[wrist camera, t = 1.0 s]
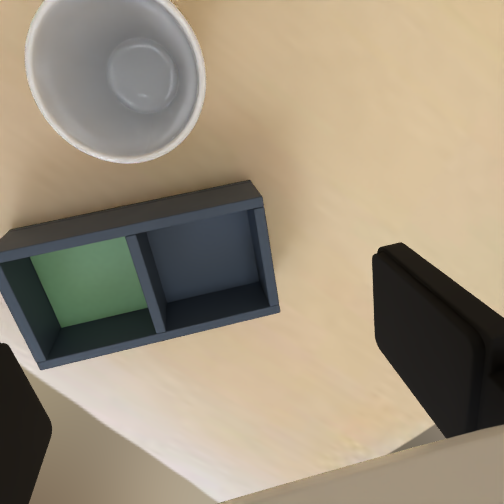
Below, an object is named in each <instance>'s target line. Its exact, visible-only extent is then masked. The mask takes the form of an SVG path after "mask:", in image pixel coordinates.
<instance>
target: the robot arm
mask: <svg viewBox="0 0 504 504" xmlns="http://www.w3.org/2000/svg"><path fill="white" fill-rule="evenodd" d="M372 270H373V298H374V326H375V339H376V342H377V345H378V347H379V349H380V350H381V352H382V353H383V354H384V356H385V357H386V358H387V360H388V361H389V362H390V364H391V365H392V366H393V368H394V369H395V370H396V372H397V373H398V374H399V376H400V377H401V378H402V380H403V381H404V382H405V384H406V385H407V386H408V388H409V389H410V390H411V392H412V393H413V395H414V396H415V397H416V399H417V400H418V401H419V403H420V404H421V405H422V407H423V408H424V409H425V411H426V412H427V413H428V415H429V416H430V417H431V419H432V420H433V421H434V423H435V424H436V425H437V427H438V428H439V429H440V431H441V432H442V433H443V435H444V436H445V437H446V439H444V440H440V441H436V442H432V443H429V444H425V445H421V446H417V447H413V448H410V449H406V450H403V451H399V452H396V453H392V454H388V455H385V456H381V457H378V458H374V459H371V460H367V461H364V462H360V463H357V464H353V465H350V466H346V467H343V468H339V469H336V470H332V471H329V472H325V473H322V474H318V475H315V476H311V477H308V478H304V479H301V480H297V481H293V482H290V483H286V484H283V485H279V486H276V487H273V488H269V489H266V490H262V491H259V492H255V493H252V494H248V495H245V496H241V497H238V498H235V499H231V500H228V501H224V502H221V503H217V504H504V318H503V317H502V316H500V315H499V314H498V313H496V312H495V311H494V310H492V309H491V308H490V307H488V306H487V305H486V304H484V303H483V302H482V301H480V300H479V299H478V298H476V297H475V296H474V295H472V294H471V293H469V292H468V291H467V290H465V289H464V288H463V287H461V286H460V285H459V284H457V283H456V282H455V281H453V280H452V279H451V278H449V277H448V276H447V275H445V274H444V273H443V272H441V271H440V270H439V269H437V268H436V267H435V266H433V265H432V264H431V263H429V262H428V261H426V260H425V259H424V258H422V257H421V256H420V255H418V254H417V253H416V252H414V251H413V250H412V249H410V248H409V247H408V246H406V245H405V244H403V243H396V244H392V245H387V246H383V247H380V248H379V249H378V252H377V254H374V255H373V257H372ZM51 434H52V425H51V421H50V419H49V417H48V415H47V414H46V412H45V410H44V408H43V406H42V404H41V403H40V401H39V399H38V397H37V395H36V394H35V392H34V390H33V388H32V387H31V385H30V383H29V381H28V379H27V377H26V376H25V374H24V372H23V370H22V368H21V366H20V365H19V363H18V361H17V359H16V357H15V356H14V354H13V352H12V350H11V348H10V347H9V346H8V345H7V344H5V343H2V344H1V343H0V504H29V501H30V498H31V495H32V492H33V489H34V486H35V483H36V480H37V477H38V474H39V471H40V468H41V465H42V462H43V459H44V456H45V453H46V450H47V447H48V444H49V441H50V438H51Z"/></svg>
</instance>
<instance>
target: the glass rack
mask: <svg viewBox="0 0 504 504" xmlns="http://www.w3.org/2000/svg"><path fill="white" fill-rule="evenodd" d="M263 206H264V203H263V197H262V196H261V194H260V193H259V192H258V190H257V189H256V188H255V186H254V185H253V184H252V182H251V181H250V180H247V181H242V182H237V183H233V184H228V185H223V186H218V187H213V188H209V189H204V190H199V191H194V192H189V193H184V194H180V195H175V196H170V197H165V198H160V199H156V200H151V201H146V202H141V203H136V204H131V205H127V206H122V207H117V208H112V209H107V210H102V211H98V212H93V213H88V214H83V215H78V216H74V217H69V218H64V219H59V220H54V221H49V222H45V223H40V224H35V225H30V226H25V227H20V228H16V229H11V230H9V231H8V233H6V234H5V235H4V236H3V237H2V238H1V239H0V292H1V294H2V296H3V298H4V300H5V302H6V304H7V306H8V308H9V310H10V312H11V314H12V316H13V318H14V320H15V322H16V324H17V326H18V328H19V330H20V331H21V333H22V335H23V337H24V339H25V341H26V343H27V345H28V347H29V349H30V351H31V353H32V355H33V357H34V359H35V361H36V363H37V365H38V367H39V369H40V370H44V369H49V368H53V367H57V366H61V365H65V364H69V363H73V362H77V361H82V360H86V359H90V358H94V357H98V356H102V355H106V354H110V353H115V352H119V351H123V350H127V349H131V348H135V347H139V346H143V345H148V344H152V343H156V342H160V341H164V340H168V339H172V338H176V337H181V336H185V335H189V334H193V333H197V332H201V331H205V330H209V329H214V328H218V327H222V326H226V325H230V324H234V323H238V322H242V321H247V320H251V319H255V318H259V317H263V316H267V315H271V314H275V313H279V312H280V307H279V300H278V294H277V287H276V281H275V274H274V268H273V261H272V255H271V248H270V242H269V236H268V229H267V223H266V216H265V210H264V207H263Z"/></svg>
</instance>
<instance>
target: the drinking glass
mask: <svg viewBox="0 0 504 504" xmlns="http://www.w3.org/2000/svg"><path fill="white" fill-rule="evenodd" d="M25 69H26V75H27V79H28V83H29V87H30V90H31V93H32V95H33V98H34V100H35V102H36V104H37V106H38V108H39V110H40V111H41V113H42V114H43V116H44V117H45V119H46V120H47V122H48V123H49V124H50V125H51V127H52V128H53V129H54V130H55V131H56V132H57V133H58V134H59V135H60V136H61V137H62V138H63V139H65V140H66V141H67V142H68V143H70V144H71V145H72V146H74V147H75V148H77V149H79V150H80V151H82V152H84V153H86V154H88V155H90V156H93V157H95V158H98V159H101V160H104V161H109V162H114V163H124V164H131V163H141V162H146V161H150V160H153V159H156V158H158V157H161V156H163V155H165V154H167V153H168V152H170V151H171V150H173V149H174V148H176V147H177V146H178V145H179V144H180V143H181V142H182V141H183V140H184V139H185V138H186V137H187V136H188V135H189V133H190V132H191V131H192V129H193V128H194V126H195V124H196V122H197V120H198V118H199V116H200V113H201V111H202V107H203V104H204V99H205V93H206V68H205V63H204V58H203V54H202V50H201V47H200V45H199V42H198V40H197V37H196V35H195V33H194V31H193V29H192V28H191V26H190V24H189V23H188V21H187V20H186V18H185V17H184V16H183V14H182V13H181V12H180V11H179V10H178V8H177V7H176V6H175V5H174V4H173V3H172V2H171V1H170V0H44V1H43V2H42V4H41V5H40V7H39V8H38V10H37V11H36V13H35V15H34V17H33V19H32V21H31V24H30V26H29V29H28V33H27V37H26V44H25Z"/></svg>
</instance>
